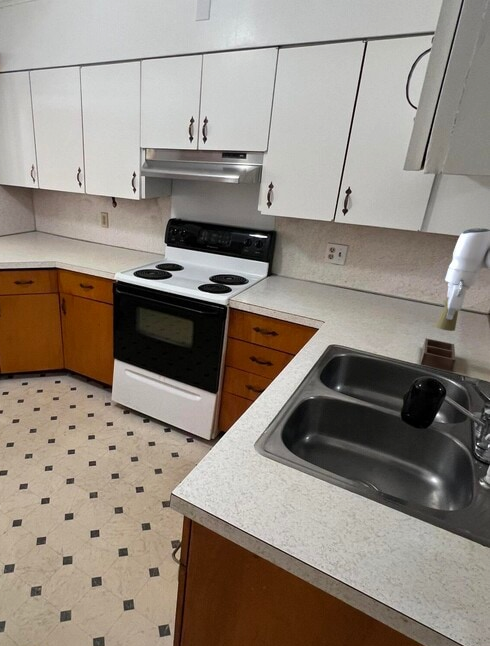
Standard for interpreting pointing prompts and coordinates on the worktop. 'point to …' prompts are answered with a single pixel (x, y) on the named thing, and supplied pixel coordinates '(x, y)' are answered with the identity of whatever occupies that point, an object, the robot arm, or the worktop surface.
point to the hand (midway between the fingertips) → (448, 316)
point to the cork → (443, 321)
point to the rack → (438, 355)
